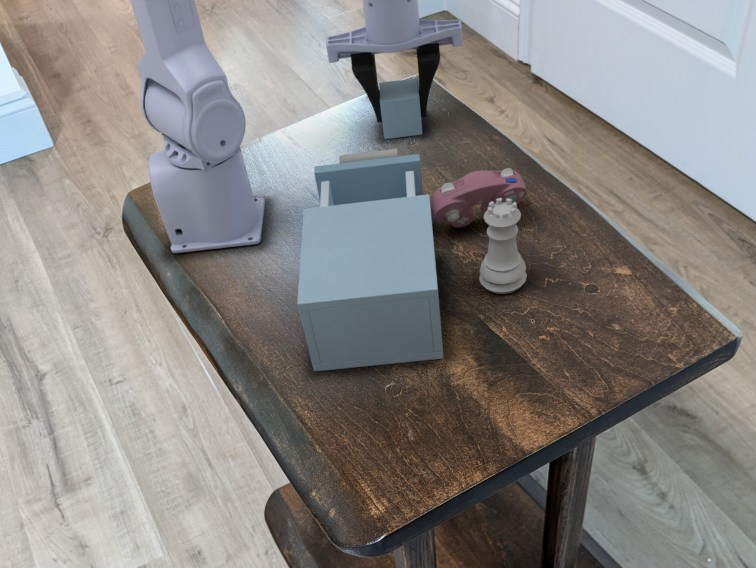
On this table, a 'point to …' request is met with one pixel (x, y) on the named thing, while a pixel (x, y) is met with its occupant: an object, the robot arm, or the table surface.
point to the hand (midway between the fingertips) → (401, 115)
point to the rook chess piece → (502, 249)
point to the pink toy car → (474, 195)
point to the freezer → (369, 284)
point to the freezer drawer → (369, 178)
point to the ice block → (400, 108)
